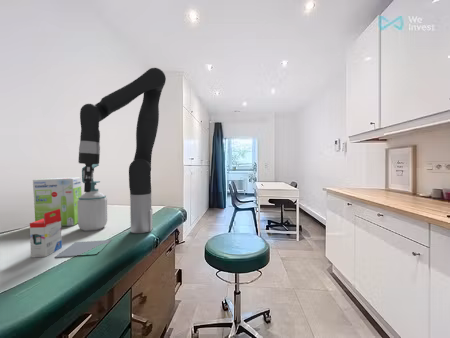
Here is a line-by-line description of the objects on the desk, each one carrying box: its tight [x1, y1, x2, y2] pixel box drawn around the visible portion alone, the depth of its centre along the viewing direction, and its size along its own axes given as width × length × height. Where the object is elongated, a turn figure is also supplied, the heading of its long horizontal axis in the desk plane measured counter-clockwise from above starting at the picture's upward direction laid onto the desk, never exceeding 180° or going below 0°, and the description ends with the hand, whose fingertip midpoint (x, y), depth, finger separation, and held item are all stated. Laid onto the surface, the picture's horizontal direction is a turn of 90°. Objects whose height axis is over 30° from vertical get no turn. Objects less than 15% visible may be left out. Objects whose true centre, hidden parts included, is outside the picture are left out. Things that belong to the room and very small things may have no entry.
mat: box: [54, 239, 112, 259], centre depth 81 cm, size 13×14×1 cm
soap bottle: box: [77, 163, 108, 232], centre depth 106 cm, size 12×12×31 cm
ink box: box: [29, 209, 63, 258], centre depth 77 cm, size 8×5×15 cm, turn 5°
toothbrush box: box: [32, 176, 83, 227], centre depth 114 cm, size 18×10×24 cm, turn 102°
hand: (87, 191), depth 93 cm, fingers open, 8 cm apart
